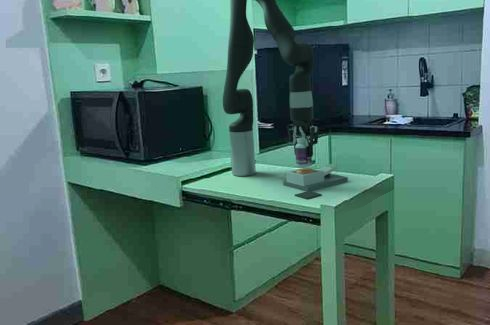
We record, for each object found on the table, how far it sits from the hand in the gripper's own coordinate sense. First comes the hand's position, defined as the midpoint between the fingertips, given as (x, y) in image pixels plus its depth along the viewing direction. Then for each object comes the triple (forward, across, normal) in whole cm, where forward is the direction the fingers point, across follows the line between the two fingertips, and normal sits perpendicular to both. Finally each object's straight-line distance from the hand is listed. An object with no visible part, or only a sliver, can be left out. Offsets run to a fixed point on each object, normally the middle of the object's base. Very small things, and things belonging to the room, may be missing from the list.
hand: (303, 155), depth 151 cm
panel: (+10, 0, +5) cm, 11 cm away
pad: (+10, +10, -7) cm, 16 cm away
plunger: (+7, 0, 0) cm, 7 cm away
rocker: (+7, 0, +10) cm, 12 cm away
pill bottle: (+4, 0, 0) cm, 4 cm away
